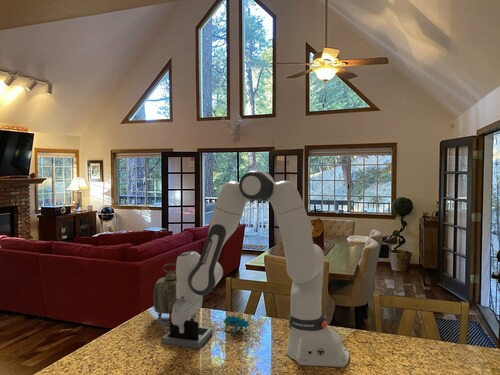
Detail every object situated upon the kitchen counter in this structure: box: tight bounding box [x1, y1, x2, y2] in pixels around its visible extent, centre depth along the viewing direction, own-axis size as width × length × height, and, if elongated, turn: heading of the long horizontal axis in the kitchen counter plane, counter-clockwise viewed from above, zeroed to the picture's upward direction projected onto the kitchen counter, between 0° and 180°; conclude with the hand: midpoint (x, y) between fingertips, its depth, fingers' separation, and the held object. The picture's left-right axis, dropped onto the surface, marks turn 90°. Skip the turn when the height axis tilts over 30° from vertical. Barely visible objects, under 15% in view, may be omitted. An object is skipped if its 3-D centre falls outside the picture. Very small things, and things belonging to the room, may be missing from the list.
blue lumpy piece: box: [223, 315, 250, 335], centre depth 155 cm, size 11×6×10 cm
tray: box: [161, 326, 214, 350], centre depth 148 cm, size 15×13×2 cm
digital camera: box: [169, 319, 200, 341], centre depth 147 cm, size 10×5×7 cm, turn 67°
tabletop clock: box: [152, 262, 178, 322], centre depth 168 cm, size 14×9×25 cm, turn 94°
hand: (187, 327), depth 148 cm, fingers open, 8 cm apart
